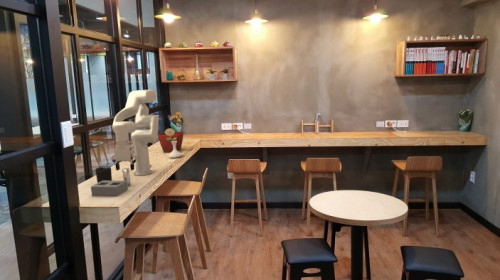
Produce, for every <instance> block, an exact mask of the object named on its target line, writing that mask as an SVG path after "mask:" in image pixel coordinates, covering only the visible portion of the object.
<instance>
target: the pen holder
mask: <svg viewBox="0 0 500 280" xmlns="http://www.w3.org/2000/svg"><path fill="white" fill-rule="evenodd" d="M94 171H95V175H96V176H95V177H96V182H97V183H99V182H101V181H113V177H112V167H111V166H109V167H97V168H95V169H94ZM97 183H96V184H97Z"/></svg>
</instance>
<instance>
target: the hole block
mask: <svg viewBox="0 0 500 280" xmlns="http://www.w3.org/2000/svg"><path fill="white" fill-rule="evenodd" d="M128 188H129V187H127V181H124V180H112V181H101V182H99V183H95V184H93V185H92V186H90V190H91V196H93V197H118V196H121V194H123V193H125V192H127V191H128V190H129V189H128Z"/></svg>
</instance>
